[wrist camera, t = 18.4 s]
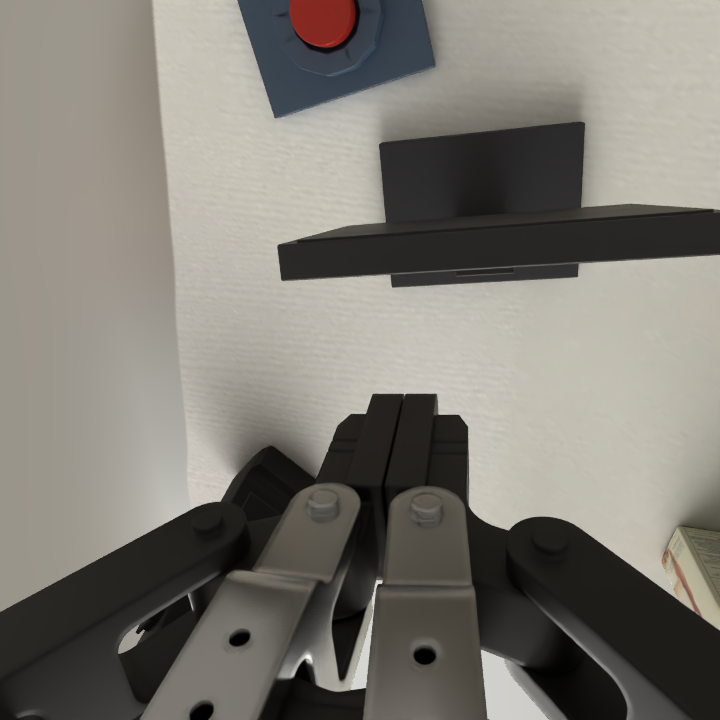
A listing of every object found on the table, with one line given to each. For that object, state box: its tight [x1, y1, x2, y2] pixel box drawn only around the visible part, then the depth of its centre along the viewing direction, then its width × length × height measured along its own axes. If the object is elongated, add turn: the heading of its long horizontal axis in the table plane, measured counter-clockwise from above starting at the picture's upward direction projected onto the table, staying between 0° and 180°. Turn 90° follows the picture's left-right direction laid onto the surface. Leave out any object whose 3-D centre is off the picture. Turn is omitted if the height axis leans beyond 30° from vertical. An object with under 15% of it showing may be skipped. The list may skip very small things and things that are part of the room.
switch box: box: [238, 0, 436, 118], centre depth 35 cm, size 11×9×3 cm
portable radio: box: [136, 446, 316, 645], centre depth 42 cm, size 8×6×25 cm
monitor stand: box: [379, 122, 585, 287], centre depth 37 cm, size 10×13×8 cm
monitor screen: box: [277, 204, 720, 281], centre depth 27 cm, size 3×16×13 cm, turn 96°
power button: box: [290, 0, 356, 48], centre depth 34 cm, size 4×4×2 cm
